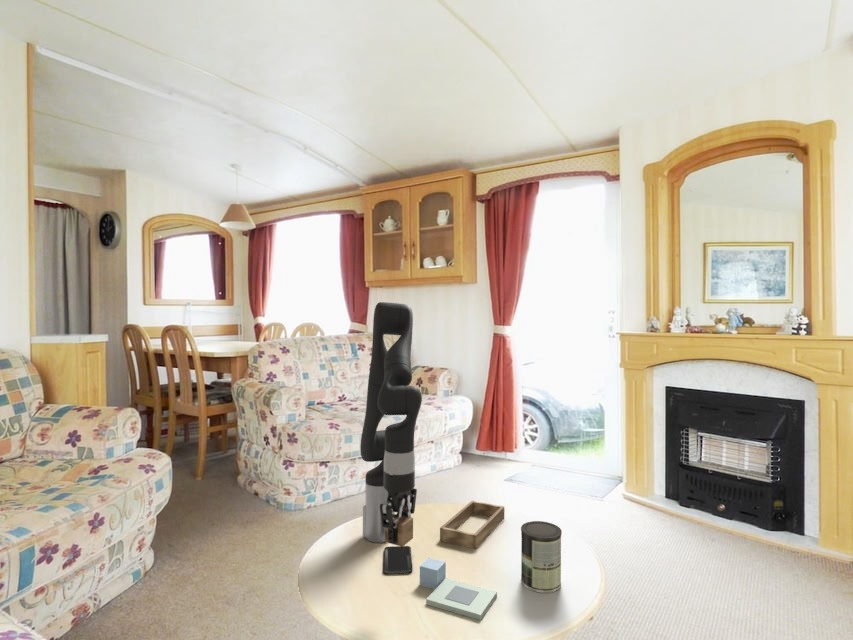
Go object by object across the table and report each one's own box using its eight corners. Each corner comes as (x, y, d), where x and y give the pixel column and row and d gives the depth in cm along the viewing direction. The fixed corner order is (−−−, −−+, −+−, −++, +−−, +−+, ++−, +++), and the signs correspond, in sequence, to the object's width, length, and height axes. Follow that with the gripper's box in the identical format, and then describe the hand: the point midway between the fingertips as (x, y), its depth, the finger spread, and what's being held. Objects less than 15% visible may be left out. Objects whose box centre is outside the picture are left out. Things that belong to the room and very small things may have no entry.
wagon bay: (440, 540, 156) (440, 527, 156) (471, 511, 179) (471, 500, 179) (476, 549, 151) (476, 535, 150) (504, 518, 174) (504, 506, 174)
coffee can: (513, 584, 131) (513, 529, 131) (532, 568, 139) (532, 517, 139) (550, 598, 124) (550, 541, 124) (568, 581, 132) (568, 527, 132)
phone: (383, 572, 135) (384, 546, 150) (383, 576, 135) (384, 550, 150) (412, 571, 136) (411, 545, 151) (412, 575, 136) (411, 549, 151)
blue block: (419, 585, 130) (419, 566, 130) (428, 576, 135) (428, 557, 135) (437, 590, 128) (437, 570, 128) (445, 581, 133) (445, 562, 132)
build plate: (426, 604, 122) (426, 598, 122) (445, 582, 131) (445, 577, 131) (480, 620, 115) (480, 614, 115) (496, 596, 125) (496, 591, 125)
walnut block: (384, 541, 121) (384, 521, 121) (395, 533, 126) (395, 513, 125) (402, 546, 119) (402, 525, 119) (413, 538, 123) (413, 517, 123)
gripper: (400, 458, 130) (400, 524, 130) (369, 474, 117) (369, 547, 118) (426, 462, 126) (426, 530, 127) (397, 479, 114) (396, 554, 114)
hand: (398, 537), depth 122 cm, fingers closed on walnut block, 5 cm apart
